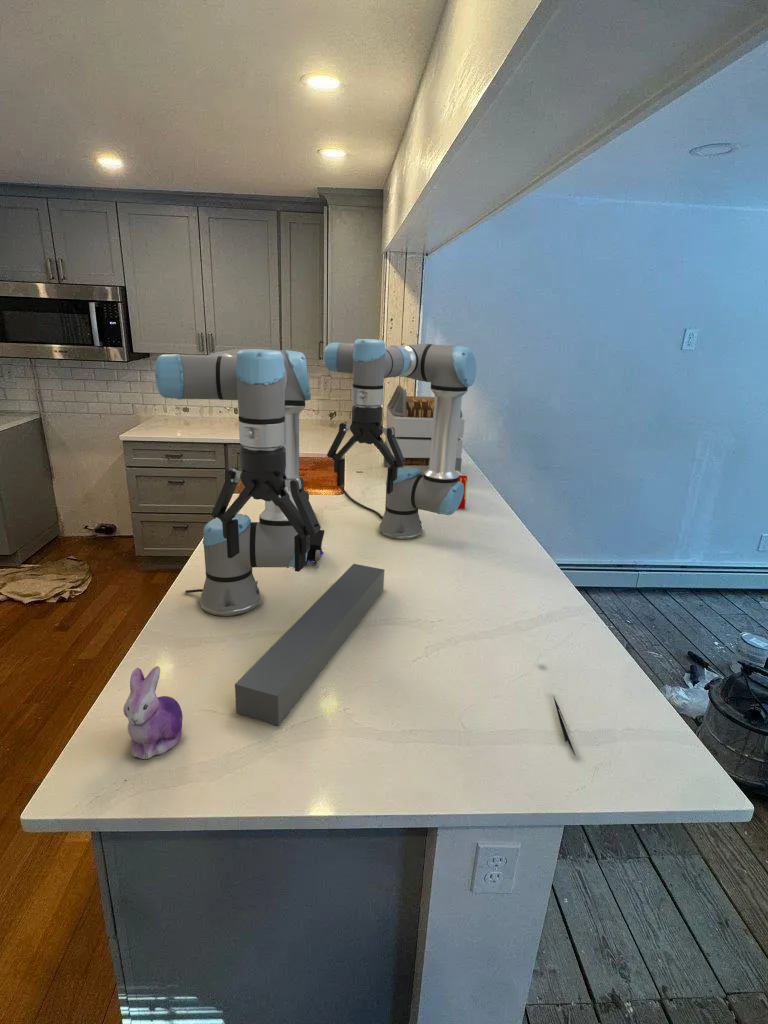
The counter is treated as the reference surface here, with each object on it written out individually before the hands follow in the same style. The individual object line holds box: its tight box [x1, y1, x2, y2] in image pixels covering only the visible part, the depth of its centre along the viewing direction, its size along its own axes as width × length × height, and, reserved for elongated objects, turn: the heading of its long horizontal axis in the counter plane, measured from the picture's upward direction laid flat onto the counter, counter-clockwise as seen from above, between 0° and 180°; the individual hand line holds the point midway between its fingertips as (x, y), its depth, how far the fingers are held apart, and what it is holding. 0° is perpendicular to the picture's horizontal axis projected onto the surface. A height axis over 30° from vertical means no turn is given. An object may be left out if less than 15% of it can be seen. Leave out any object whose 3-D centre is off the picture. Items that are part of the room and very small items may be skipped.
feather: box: [552, 695, 579, 756], centre depth 115 cm, size 2×28×2 cm
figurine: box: [122, 665, 183, 760], centre depth 99 cm, size 9×10×15 cm
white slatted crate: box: [383, 384, 465, 474], centre depth 268 cm, size 34×33×41 cm
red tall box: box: [456, 471, 468, 510], centre depth 238 cm, size 12×13×30 cm
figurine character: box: [306, 529, 326, 567], centre depth 176 cm, size 7×8×15 cm
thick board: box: [234, 563, 385, 727], centre depth 133 cm, size 59×9×7 cm, turn 161°
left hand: (266, 561), depth 102 cm, fingers open, 13 cm apart
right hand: (364, 488), depth 145 cm, fingers open, 13 cm apart
